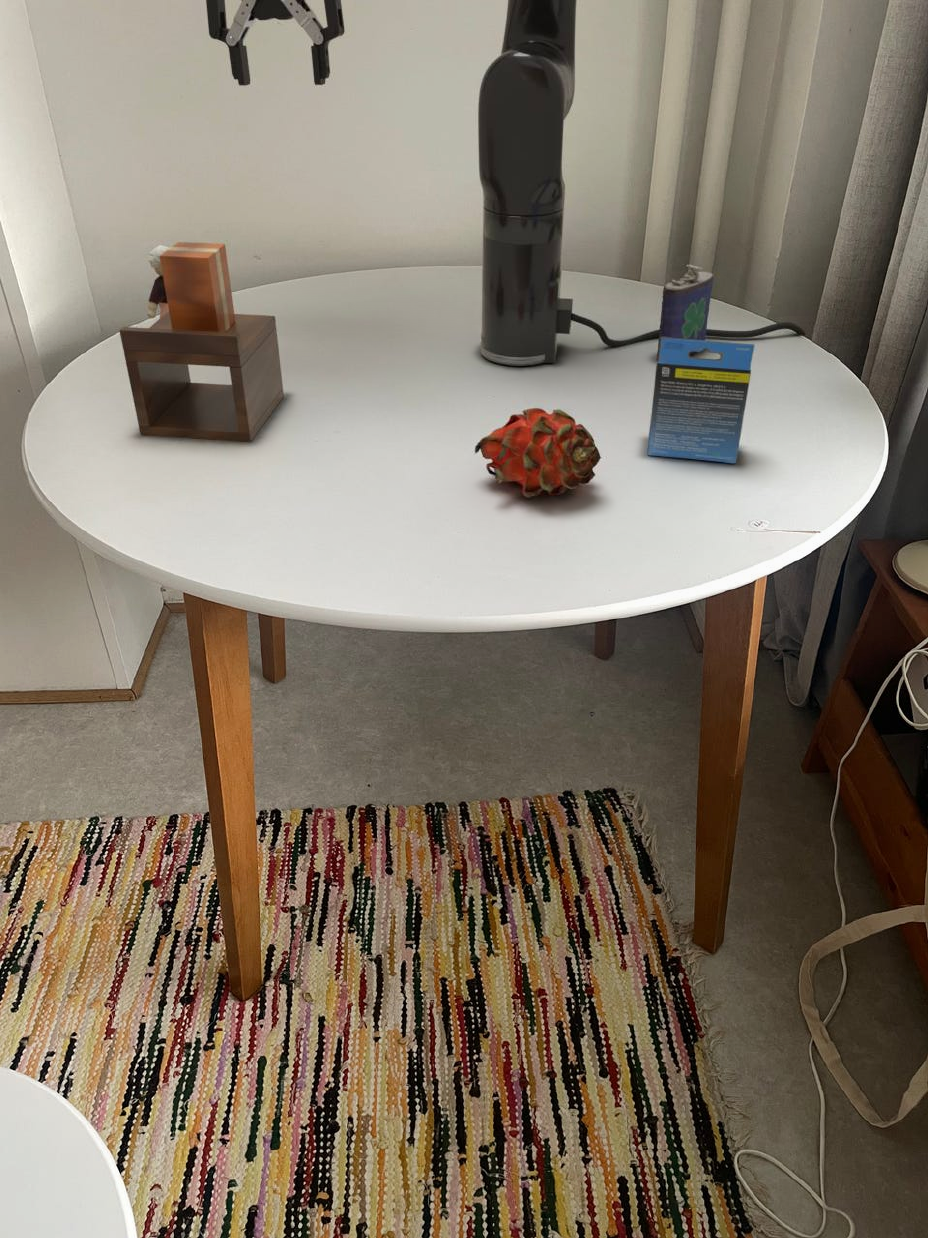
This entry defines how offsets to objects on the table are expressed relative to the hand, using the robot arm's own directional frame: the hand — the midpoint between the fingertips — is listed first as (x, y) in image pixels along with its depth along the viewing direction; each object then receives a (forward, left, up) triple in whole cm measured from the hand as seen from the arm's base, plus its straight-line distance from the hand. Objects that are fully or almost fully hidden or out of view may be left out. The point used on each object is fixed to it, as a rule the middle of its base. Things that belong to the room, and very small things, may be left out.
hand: (282, 84), depth 109 cm
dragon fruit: (-32, +34, -29) cm, 55 cm away
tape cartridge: (-47, +24, -29) cm, 60 cm away
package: (+4, +21, -20) cm, 29 cm away
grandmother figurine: (+15, +4, -29) cm, 33 cm away
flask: (-47, -4, -29) cm, 55 cm away
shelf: (+4, +22, -29) cm, 37 cm away
